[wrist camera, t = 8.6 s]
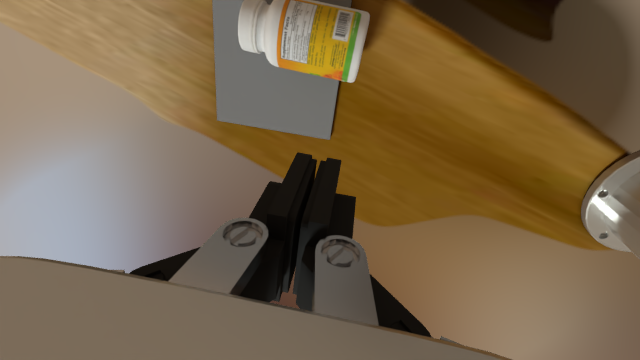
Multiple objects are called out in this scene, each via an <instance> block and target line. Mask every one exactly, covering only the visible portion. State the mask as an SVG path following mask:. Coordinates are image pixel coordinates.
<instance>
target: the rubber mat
mask: <svg viewBox="0 0 640 360" xmlns="http://www.w3.org/2000/svg"><path fill="white" fill-rule="evenodd" d="M212 1H213V26H214V51H215V76H216V101H217V120H218V121H224V122H229V123H235V124H241V125H247V126H253V127H258V128H264V129H270V130H276V131H282V132H288V133H293V134H299V135H305V136H311V137H317V138H322V139H328V140H330V136H331V130H332V123H333V117H334V111H335V104H336V98H337V92H338V85H339V80H335V79H330V78H326V77H321V76H317V75H312V74H307V73H303V72H298V71H294V70H289V69H284V68H280V67H276V66H274V65H272V64H271V63H270V62H269V61H268V59H267V57H266V54H265V52H262V53H260V54H258V53H253V52H249V51H245V50H243V49H242V48H241V46H240V43H239V38H238V20H239V13H240V9H241V6H242V3H243V1H244V0H212ZM265 1H266V2H267V4H268V5H271V3H272V1H273V0H265ZM314 1H319V2H324V3H328V4H333V5H338V6H343V7H348V8H351V2H352V0H314Z"/></svg>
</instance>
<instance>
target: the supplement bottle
mask: <svg viewBox="0 0 640 360" xmlns="http://www.w3.org/2000/svg"><path fill="white" fill-rule="evenodd" d="M369 21H370V15H369V13H368V12H366V11H362V10H357V9H353V8H348V7H343V6H338V5H333V4H328V3H324V2H319V1H314V0H273V1H272V3H271V5H268V4H267V2H266V1H265V0H244V1H243V3H242V6H241V9H240V13H239V20H238V38H239V43H240V46H241V48H242V49H243V50H245V51H249V52H253V53H258V54H260V53H262V52H265V54H266V57H267V59H268V61H269V62H270V63H271V64H272V65H274V66H276V67H280V68H284V69H289V70H294V71H298V72H303V73H307V74H312V75H317V76H321V77H326V78H330V79H335V80H340V81H344V82H350V83H352V82H354V81H355V80H356V77H357V73H358V70H359V65H360V61H361V56H362V51H363V47H364V43H365V39H366V34H367V30H368V26H369Z"/></svg>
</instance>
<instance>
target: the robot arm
mask: <svg viewBox="0 0 640 360" xmlns="http://www.w3.org/2000/svg"><path fill="white" fill-rule="evenodd" d="M316 163H317V160H316V159H312V155H309V154H303V153H297V154H296V156H295V158H294V160H293V162H292V164H291V166H290V168H289V170H288V172H287V174H286V176H285V178H284V180H283V182H282V183H277V182H272V181H270V182H269V183H268V185H267V187H266V188H265V190H264V192H263V194H262V195H261V197H260V199H259V201H258V202H257V204H256V206H255V208H254V210H253V211H252V213H251V215H250V217H249V218H237V219H232V220H230V221H228V222H226V223H224V224H223V225H222V226H220V228H219V229H218V230H217V231H216V232H215V233H214V234H213V235H212V236H211V237H210V238H209V239H208V240H207V241H206V242H205V243H204V244H203V245H202V246H201V247H199V248H196V249H193V250H190V251H187V252H184V253H181V254H178V255H175V256H172V257H169V258H166V259H163V260H160V261H157V262H154V263H151V264H148V265H145V266H142V267H140V268H138V269H136V270H133V271H132V272H130V273H129V274H128V273H125V271H124V270H107V269H102V268H97V267H92V266H86V265H80V264H74V263H68V262H61V261H56V260H49V259H43V258H31V257H21V256H0V360H512V359H509V358H506V357H503V356H500V355H497V354H494V353H491V352H488V351H484V350H480V349H476V348H472V347H468V346H464V345H461V344H459V343H456V342H454V341H452V340H449V339H447V338H444V337H442V336H441V338H440V339H436V338H433V337H431V335H430V333H429V332H428V330H427V329H426V328H425V327H424V326H423V324H421V323H420V322H419V321H418V320H417V319H416V318H415V317H414V316H413V315H412V314H411V313H410V312H409V311H408V310H407V309H406V308H405V307H404V306H403V305H402V304H401V303H399V302H398V300H396V299H395V298H394V297H393V296H392V295H391V294H390V293H389V292H388V291H387V290H386V289H385V288H384V287H383V286H382V285H381V284H380V283H379V282H378V281H377V280H376V279H375V278H374V277H372V276H371V275H370V274H369V269H368V263H367V257H366V253H365V251H364V249H363V248H362V246H361V245H360V244H359V243H358V242H356V241H355V240H353V239H352V236H353V224H354V213H355V202H356V197H353V196H348V195H342V194H337V193H336V188H337V183H338V177H339V171H340V166H341V160H337V159H332V158H327V160H326V161H321V162H320V165H319V168H318V171H317V174H316V177H315V171H316ZM314 178H315V180H314ZM581 218H582V221H583V224H584V227H585V228H586V229H587V231H588V232H589V233H590V234H591V235H592V236H593V237H594V238H595V240H597V241H598V242H600V243H601V244H603V245H605V246H607V247H610V248H612V249H615V250H621V251H626V252H633V253H634V254H635V255H636V256H637V257H638V258H639V259H640V150H639V151H637V152H634V153H632V154H630V155H628V156H626V157H625V158H623V159H621V160H619V161H618V162H616V163H615V164H613V165H612V166H611V167H609V168H608V169H607V170H605V171H604V172H603V173H602V174H601V175H600V176H599V177H598V178H597V179H596V180H595V181H594V183H593V184H592V185H591V187H590V188H589V190H588V191H587V193H586V195H585V198H584V200H583V203H582V208H581ZM295 267H296V271H295ZM294 271H295V279H294V288H293V294H297V299H296V304H297V305H298V306H299V308H300V309H297V308H293V307H288V306H283V305H278V304H274V303H269V302H270V301H272V300H274V301H278V302H279V301H280V297H281V294H282V292H287V293H288V291H289V288H290V284H291V281H292V278H293V274H294Z"/></svg>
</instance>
